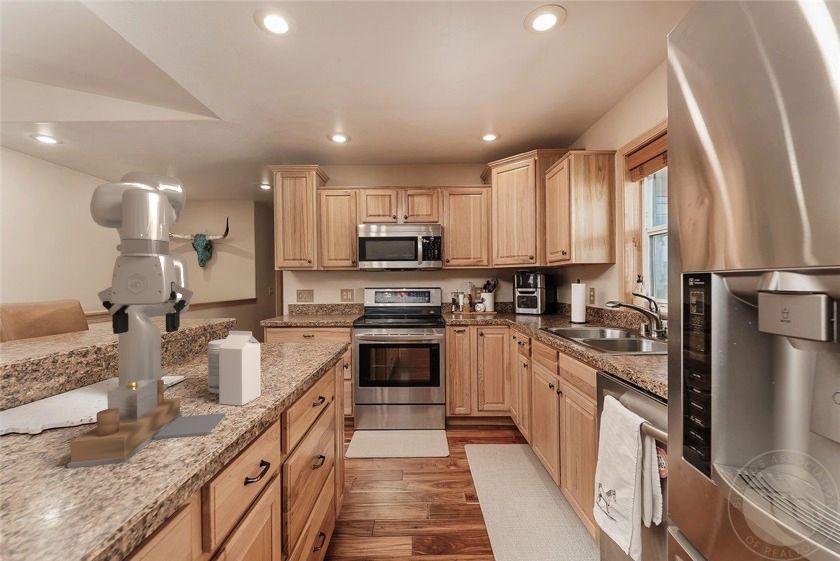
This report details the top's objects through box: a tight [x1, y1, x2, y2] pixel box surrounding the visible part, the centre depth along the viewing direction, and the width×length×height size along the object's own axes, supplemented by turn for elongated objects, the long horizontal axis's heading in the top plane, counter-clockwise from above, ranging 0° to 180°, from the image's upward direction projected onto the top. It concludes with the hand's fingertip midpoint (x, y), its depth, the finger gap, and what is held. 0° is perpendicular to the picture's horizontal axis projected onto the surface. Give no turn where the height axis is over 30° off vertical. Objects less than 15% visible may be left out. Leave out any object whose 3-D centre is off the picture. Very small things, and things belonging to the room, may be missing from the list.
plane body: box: [67, 379, 183, 469], centre depth 68 cm, size 21×9×10 cm, turn 13°
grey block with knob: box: [107, 379, 157, 424], centre depth 68 cm, size 7×5×7 cm
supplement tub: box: [207, 338, 226, 395], centre depth 98 cm, size 10×10×15 cm
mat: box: [152, 412, 226, 441], centre depth 73 cm, size 10×10×1 cm
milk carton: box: [218, 330, 262, 406], centre depth 88 cm, size 7×7×19 cm
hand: (146, 332), depth 68 cm, fingers open, 9 cm apart
